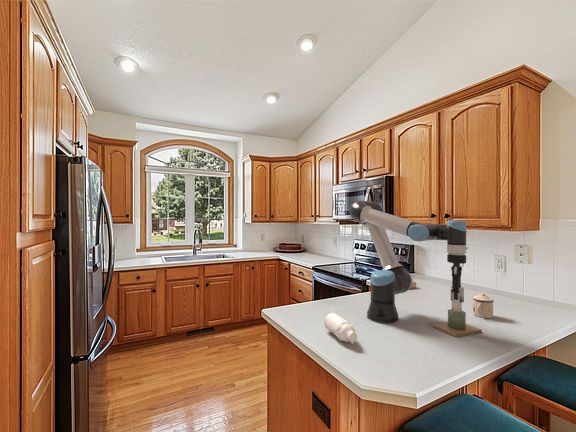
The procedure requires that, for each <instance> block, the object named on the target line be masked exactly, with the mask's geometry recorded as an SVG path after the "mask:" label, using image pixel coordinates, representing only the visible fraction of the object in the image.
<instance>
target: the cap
mask: <svg viewBox="0 0 576 432" xmlns="http://www.w3.org/2000/svg"><path fill="white" fill-rule="evenodd" d="M451 290H452V286H450V301H451V302H452V297H453V292H451ZM459 292H460V302H462V303H464V302H465V288H464V287H462V286H461V287H459Z"/></svg>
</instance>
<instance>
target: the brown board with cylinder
mask: <svg viewBox="0 0 576 432" xmlns="http://www.w3.org/2000/svg"><path fill="white" fill-rule="evenodd" d="M466 316H467V315H466V312H465V311H464V310H463V302H460V307H454V306H452V305H451V309H450V308H449V309H448V310H447V322H441V323H435V324H434V323H433V324H432V328H434V329H436V330H438V331H439V332H440V331H441V332H443V333H445V334H447V335H450V336H453V337H454V338H458V337H464V336H470V335H474V334H475V335H476V334H480V333H483V329H481V328H480V327H476V326H473V325H471V324H468V323H467V322H466Z"/></svg>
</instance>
